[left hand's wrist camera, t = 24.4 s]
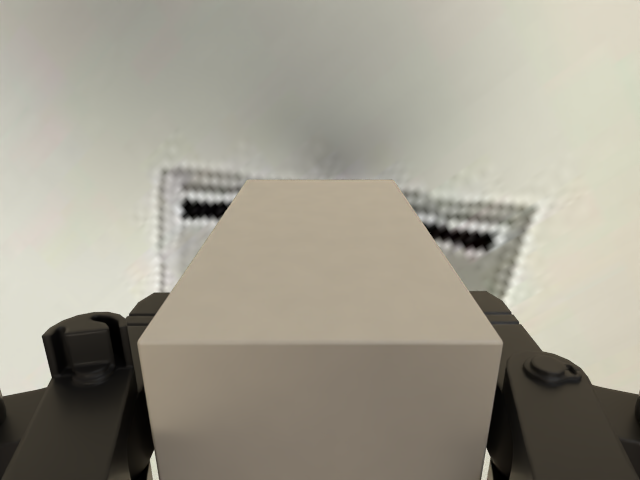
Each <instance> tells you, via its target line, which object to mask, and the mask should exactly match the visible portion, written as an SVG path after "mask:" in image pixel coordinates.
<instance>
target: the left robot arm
mask: <svg viewBox="0 0 640 480" xmlns="http://www.w3.org/2000/svg"><path fill="white" fill-rule="evenodd" d="M469 292H470V294H471V295H472V297H473V298H474V300H475V301H476V303H477V304H478V306H479V307H480V309H481V310H482V311H483V313H484V314H485V316H486V317H487V319H488V320H489V322H490V323H491V325H492V326H493V328H494V329H495V331H496V332H497V334H498V335H499V337H500V338H501V340H502V342H503V347H502V353H501V359H500V365H499V372H498V378H497V384H496V390H495V396H494V402H493V408H492V415H491V421H490V427H489V433H488V439H487V445H486V448H487V450H488V452H489V455H490V457H491V458H490V464H489V470H488V476H487V480H640V392H639V395H638V394H633V393H628V392H623V391H617V390H612V389H607V388H602V387H598V386H594V385H592V384H591V382H590V380H589V378H588V376H587V375H586V374H585V373H584V372H583V370H582V369H581V368H580V367H578V366H577V365H575V364H574V363H572V362H571V361H569V360H567V359H565V358H563V357H560V356H558V355H555V354H552V353H547V352H543V351H542V350H541V349H540V348H539V346H538V345H537V344H536V343H535V341H534V340H533V339H532V338H531V336H530V335H529V334H528V333H527V331H526V330H525V329H524V328H523V326H522V325H521V324H519V321H518V320H517V319H516V317H515V316H514V315H512V314H511V311H510V310H509V309H508V307H507V306H506V305H505V304H504V302H503V301H502V300H500V299H498V298H497V297H495V296H493V295H492V294H490V293H488V292H487V291H469ZM169 294H170V293H153V294H151V295H150V296H148V297H146V298H145V299H143V300H142V301H140V302H138V303H137V305H136V306H135V307H134V309H133V310H132V311H131V312H130V314H129V316H127V317H126V319H125V318H124V317H122V316H121V315H120V314H115V313H111V312H92V313H87V314H82V315H77V316H74V317H71V318H69V319H66V320H63V321H61V322H59V323H58V324H56V325H54V326H52V327H50V328H49V329H48V330H47V331H46V332H45V333H44V334H43V335H42V339H43V343H44V347H45V351H46V355H47V360H48V364H49V368H50V372H51V376H52V379H51V381H50V383H49V385H48V387H46V388H42V389H38V390H33V391H28V392H23V393H18V394H13V395H8V396H3V397H2V394H1V390H0V480H153V478H152V471H151V464H150V458H151V456H152V453H153V451H154V444H153V438H152V432H151V425H150V419H149V413H148V407H147V401H146V394H145V388H144V382H143V376H142V370H141V363H140V357H139V351H138V345H137V343H138V340H139V338H140V337H141V335H142V334H143V332H144V331H145V329H146V328H147V327H148V325H149V324H150V322H151V321H152V319H153V318H154V316H155V315H156V313H157V312H158V310H159V309H160V307H161V306H162V304H163V303H164V301H165V300H166V299H167V297H168V296H169Z"/></svg>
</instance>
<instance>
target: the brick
mask: <svg viewBox="0 0 640 480" xmlns="http://www.w3.org/2000/svg"><path fill="white" fill-rule="evenodd" d="M137 345H138V351H139V357H140V363H141V370H142V376H143V382H144V388H145V394H146V401H147V407H148V413H149V419H150V425H151V432H152V438H153V444H154V450H155V456H156V462H157V469H158V475H159V480H481V476H482V470H483V464H484V458H485V452H486V445H487V439H488V433H489V427H490V421H491V415H492V408H493V402H494V396H495V390H496V384H497V378H498V372H499V365H500V359H501V353H502V347H503V342H502V340H501V338H500V337H499V335H498V334H497V332H496V331H495V329H494V328H493V326H492V325H491V323H490V322H489V320H488V319H487V317H486V316H485V314H484V313H483V311H482V310H481V309H480V307H479V306H478V304H477V303H476V301H475V300H474V298H473V297H472V295H471V294H470V292H469V291H468V289H467V288H466V286H465V285H464V283H463V282H462V280H461V279H460V278H459V276H458V275H457V273H456V272H455V270H454V269H453V267H452V266H451V264H450V263H449V261H448V260H447V258H446V257H445V255H444V254H443V252H442V251H441V249H440V248H439V247H438V245H437V244H436V242H435V241H434V239H433V238H432V236H431V235H430V233H429V232H428V230H427V229H426V227H425V226H424V224H423V223H422V221H421V220H420V218H419V217H418V216H417V214H416V213H415V211H414V210H413V208H412V207H411V205H410V204H409V202H408V201H407V199H406V198H405V196H404V195H403V193H402V192H401V190H400V189H399V187H398V186H397V185H396V183H395V182H394V180H247V181H246V182H245V184H244V185H243V187H242V188H241V190H240V191H239V193H238V194H237V195H236V197H235V198H234V200H233V201H232V203H231V204H230V206H229V207H228V209H227V210H226V212H225V213H224V215H223V216H222V218H221V219H220V221H219V222H218V223H217V225H216V226H215V228H214V229H213V231H212V232H211V234H210V235H209V237H208V238H207V240H206V241H205V243H204V244H203V246H202V247H201V248H200V250H199V251H198V253H197V254H196V256H195V257H194V259H193V260H192V262H191V263H190V265H189V266H188V268H187V269H186V271H185V272H184V274H183V275H182V276H181V278H180V279H179V281H178V282H177V284H176V285H175V287H174V288H173V290H172V291H171V293H170V294H169V296H168V297H167V299H166V300H165V301H164V303H163V304H162V306H161V307H160V309H159V310H158V312H157V313H156V315H155V316H154V318H153V319H152V321H151V322H150V324H149V325H148V327H147V328H146V329H145V331H144V332H143V334H142V335H141V337H140V338H139V340H138V343H137Z"/></svg>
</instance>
